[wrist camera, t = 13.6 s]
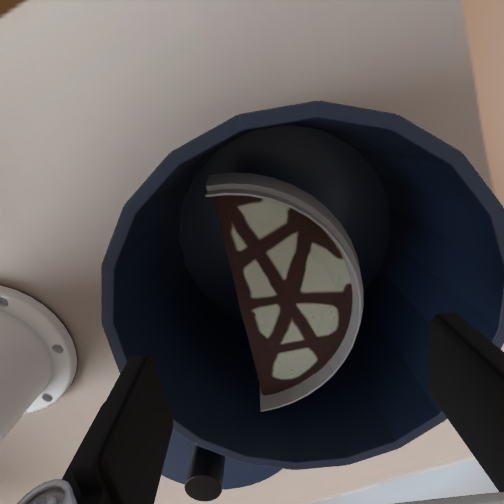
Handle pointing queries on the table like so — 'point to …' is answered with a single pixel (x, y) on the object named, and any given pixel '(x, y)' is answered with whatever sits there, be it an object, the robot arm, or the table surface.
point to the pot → (371, 267)
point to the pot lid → (208, 469)
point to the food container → (289, 282)
